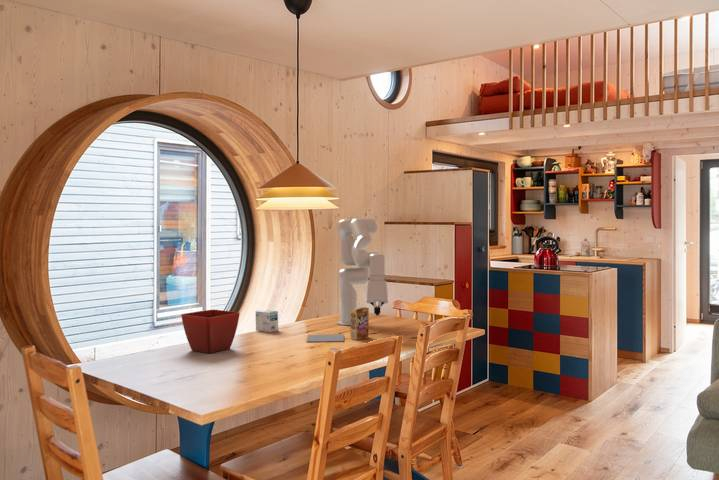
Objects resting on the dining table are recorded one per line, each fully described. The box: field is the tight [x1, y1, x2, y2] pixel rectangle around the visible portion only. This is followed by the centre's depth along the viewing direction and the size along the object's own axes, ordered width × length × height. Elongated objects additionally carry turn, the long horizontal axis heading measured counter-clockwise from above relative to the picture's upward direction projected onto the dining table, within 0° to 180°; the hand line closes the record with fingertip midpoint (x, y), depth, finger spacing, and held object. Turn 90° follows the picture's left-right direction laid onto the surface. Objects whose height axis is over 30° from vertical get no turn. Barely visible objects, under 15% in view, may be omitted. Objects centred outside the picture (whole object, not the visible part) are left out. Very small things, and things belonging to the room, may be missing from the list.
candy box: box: [350, 306, 370, 341], centre depth 294 cm, size 9×4×15 cm, turn 134°
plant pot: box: [180, 309, 240, 354], centre depth 270 cm, size 19×19×17 cm
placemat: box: [306, 333, 345, 343], centre depth 293 cm, size 16×18×1 cm
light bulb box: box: [255, 309, 279, 333], centre depth 316 cm, size 11×7×11 cm, turn 58°
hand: (377, 315), depth 294 cm, fingers closed
